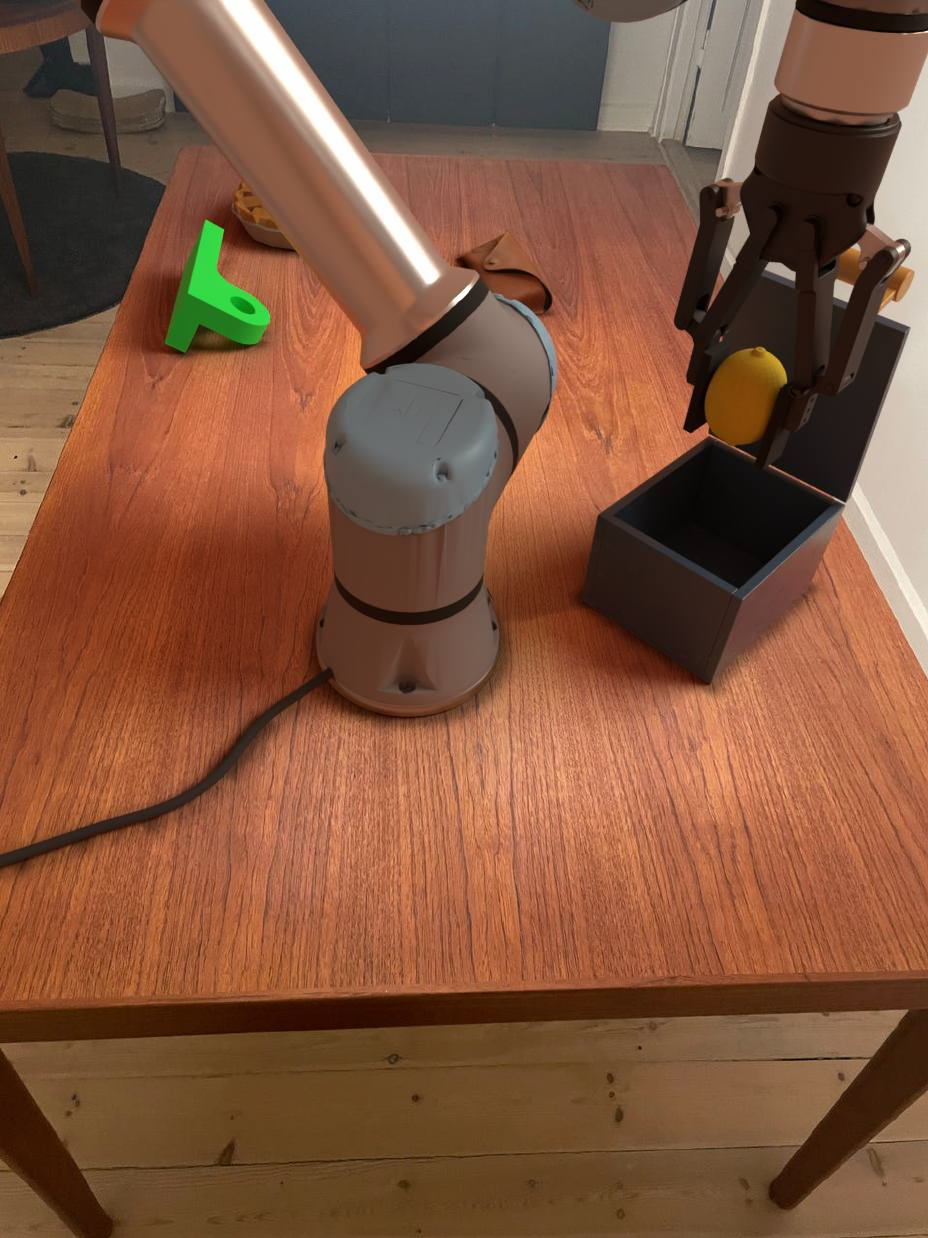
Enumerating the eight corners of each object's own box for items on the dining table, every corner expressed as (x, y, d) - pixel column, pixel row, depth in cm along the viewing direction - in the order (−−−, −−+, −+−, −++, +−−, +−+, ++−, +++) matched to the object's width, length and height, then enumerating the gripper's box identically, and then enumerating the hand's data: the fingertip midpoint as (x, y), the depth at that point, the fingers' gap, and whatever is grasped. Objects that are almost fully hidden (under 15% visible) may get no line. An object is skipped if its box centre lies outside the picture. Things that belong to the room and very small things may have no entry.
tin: (710, 685, 75) (742, 600, 68) (580, 600, 82) (597, 514, 75) (808, 588, 84) (846, 504, 77) (684, 518, 91) (709, 435, 83)
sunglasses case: (454, 253, 129) (480, 210, 125) (493, 274, 133) (519, 234, 129) (491, 314, 117) (520, 269, 113) (532, 336, 121) (562, 293, 117)
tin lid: (905, 333, 62) (967, 268, 65) (732, 264, 69) (796, 207, 72) (845, 503, 77) (898, 443, 80) (707, 433, 83) (761, 380, 86)
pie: (376, 260, 127) (375, 224, 123) (218, 251, 126) (213, 214, 123) (389, 199, 142) (389, 165, 138) (249, 190, 141) (245, 156, 138)
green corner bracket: (243, 381, 110) (268, 334, 106) (164, 344, 106) (187, 293, 102) (254, 301, 124) (277, 257, 120) (184, 265, 120) (206, 218, 116)
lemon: (708, 416, 71) (735, 321, 65) (777, 439, 69) (811, 344, 64) (683, 450, 68) (709, 353, 62) (754, 475, 66) (788, 378, 60)
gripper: (1024, 133, 50) (867, 477, 66) (733, 53, 58) (658, 375, 75) (970, 165, 46) (818, 522, 62) (666, 73, 54) (603, 409, 71)
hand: (731, 441), depth 68 cm, fingers closed on lemon, 5 cm apart
